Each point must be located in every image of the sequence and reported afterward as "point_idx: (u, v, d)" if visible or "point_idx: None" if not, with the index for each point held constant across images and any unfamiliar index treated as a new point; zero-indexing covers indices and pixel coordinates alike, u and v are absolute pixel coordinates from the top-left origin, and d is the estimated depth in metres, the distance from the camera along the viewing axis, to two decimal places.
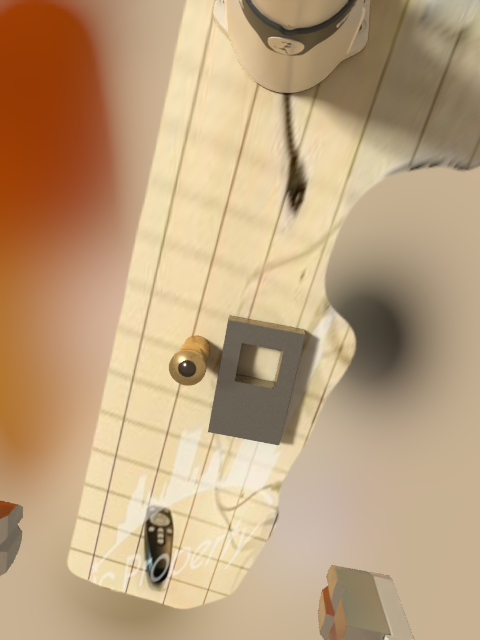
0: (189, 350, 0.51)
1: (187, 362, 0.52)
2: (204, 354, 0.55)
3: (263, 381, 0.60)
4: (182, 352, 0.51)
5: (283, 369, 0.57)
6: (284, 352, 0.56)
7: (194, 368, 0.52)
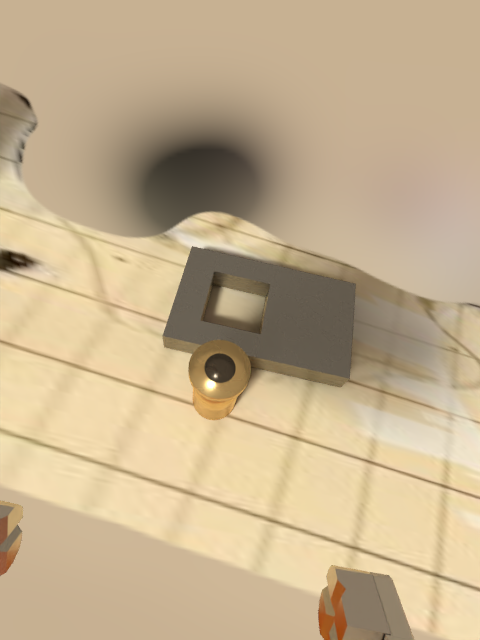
0: (189, 363, 0.31)
1: (208, 366, 0.30)
2: None
3: (264, 306, 0.42)
4: (190, 373, 0.30)
5: (241, 272, 0.42)
6: (216, 270, 0.41)
7: (220, 356, 0.31)
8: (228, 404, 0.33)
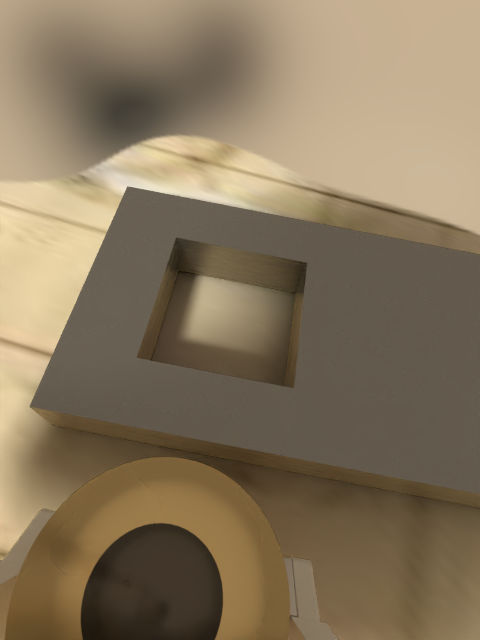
0: (20, 581, 0.07)
1: (103, 597, 0.07)
2: None
3: (294, 315, 0.19)
4: None
5: (239, 238, 0.18)
6: (181, 234, 0.18)
7: (156, 537, 0.07)
8: None
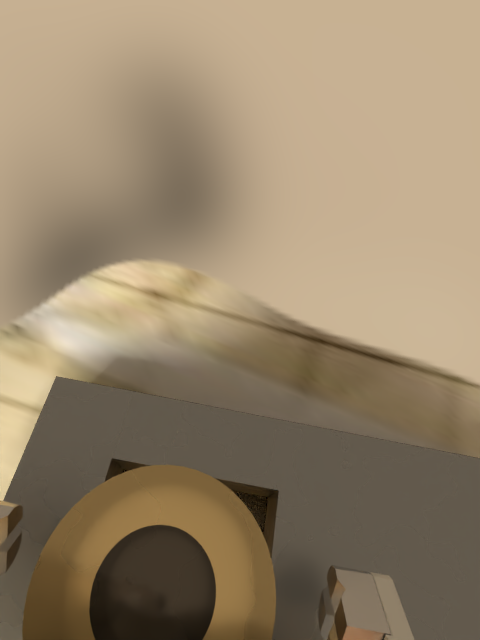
0: (34, 576, 0.08)
1: (109, 591, 0.08)
2: None
3: None
4: (29, 632, 0.07)
5: (194, 455, 0.14)
6: (119, 453, 0.14)
7: (156, 537, 0.08)
8: None
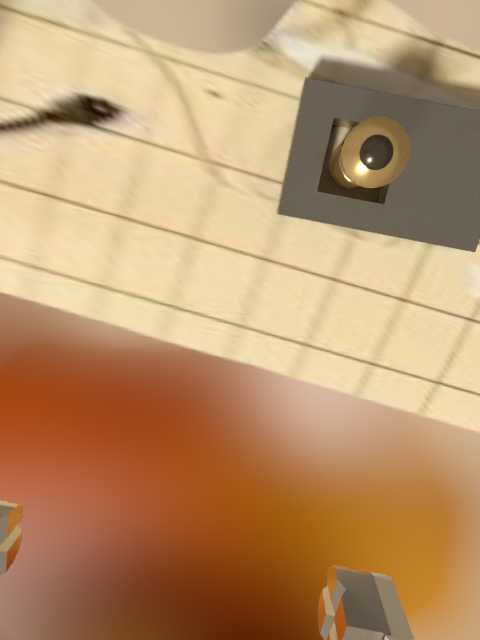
0: (342, 148, 0.29)
1: (364, 151, 0.29)
2: None
3: None
4: (344, 160, 0.29)
5: (368, 115, 0.33)
6: (336, 115, 0.33)
7: (377, 138, 0.28)
8: None
